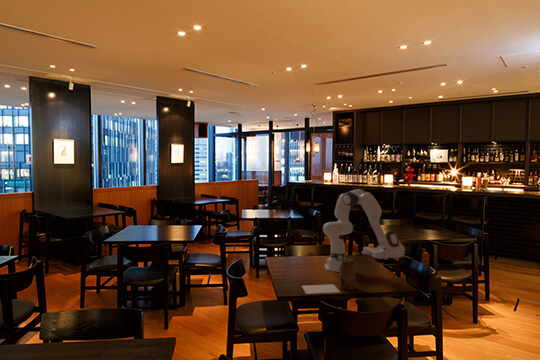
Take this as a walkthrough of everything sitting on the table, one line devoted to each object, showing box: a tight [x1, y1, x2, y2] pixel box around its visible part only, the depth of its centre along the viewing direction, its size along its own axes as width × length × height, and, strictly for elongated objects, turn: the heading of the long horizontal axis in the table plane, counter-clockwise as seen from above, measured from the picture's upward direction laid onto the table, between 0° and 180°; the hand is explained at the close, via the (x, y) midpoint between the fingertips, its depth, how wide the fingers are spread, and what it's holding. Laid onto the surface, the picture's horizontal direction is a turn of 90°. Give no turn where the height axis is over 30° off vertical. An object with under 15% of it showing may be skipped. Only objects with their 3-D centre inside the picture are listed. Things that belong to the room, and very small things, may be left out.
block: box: [338, 257, 357, 291], centre depth 236 cm, size 11×8×20 cm
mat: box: [301, 283, 341, 295], centre depth 234 cm, size 15×23×1 cm, turn 98°
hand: (362, 252), depth 237 cm, fingers closed
